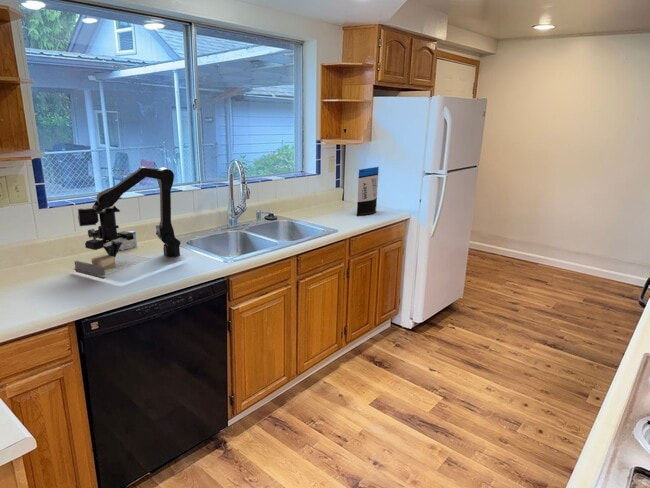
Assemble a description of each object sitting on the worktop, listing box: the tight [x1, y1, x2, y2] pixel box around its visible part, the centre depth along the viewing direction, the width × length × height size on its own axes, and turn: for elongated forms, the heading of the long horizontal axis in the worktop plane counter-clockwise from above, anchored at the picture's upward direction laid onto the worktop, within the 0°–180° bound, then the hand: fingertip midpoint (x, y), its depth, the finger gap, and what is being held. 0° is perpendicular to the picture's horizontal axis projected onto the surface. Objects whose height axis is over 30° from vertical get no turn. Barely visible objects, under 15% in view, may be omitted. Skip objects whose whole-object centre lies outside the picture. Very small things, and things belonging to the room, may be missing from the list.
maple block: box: [90, 254, 116, 270], centre depth 179 cm, size 6×6×4 cm
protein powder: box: [356, 166, 380, 217], centre depth 292 cm, size 10×24×30 cm, turn 143°
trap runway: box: [73, 252, 152, 280], centre depth 184 cm, size 16×24×4 cm, turn 154°
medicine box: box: [118, 230, 138, 251], centre depth 205 cm, size 8×4×9 cm, turn 148°
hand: (112, 260), depth 183 cm, fingers closed
